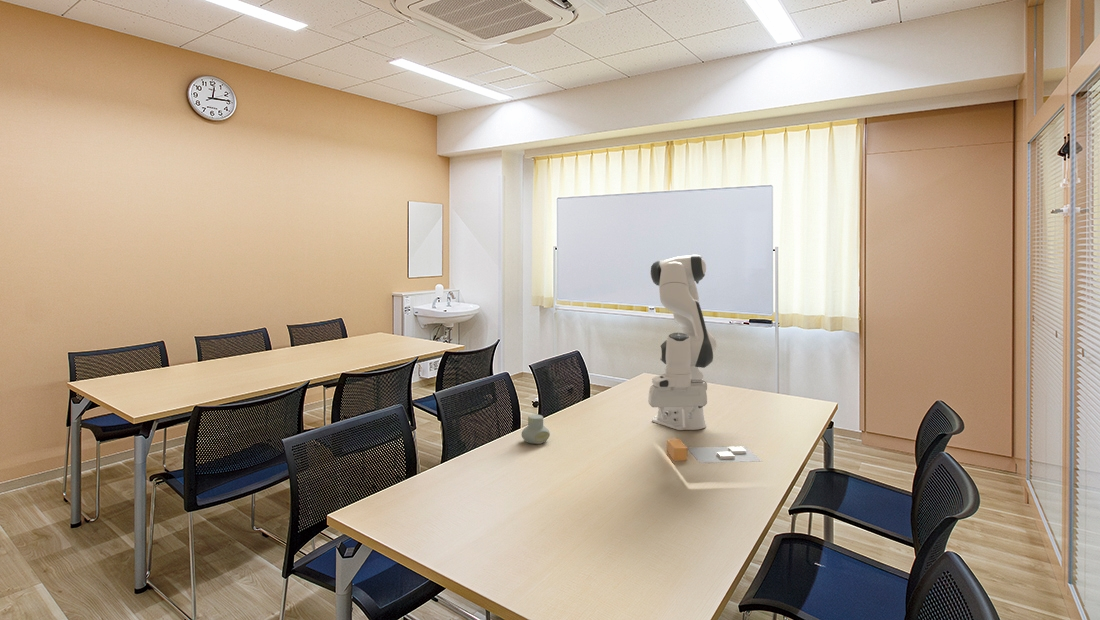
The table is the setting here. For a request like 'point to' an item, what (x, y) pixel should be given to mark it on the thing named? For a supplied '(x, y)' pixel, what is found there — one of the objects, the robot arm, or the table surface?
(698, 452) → the board
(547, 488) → the table surface
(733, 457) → the mark
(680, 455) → the block
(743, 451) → the mark
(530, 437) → the air freshener
